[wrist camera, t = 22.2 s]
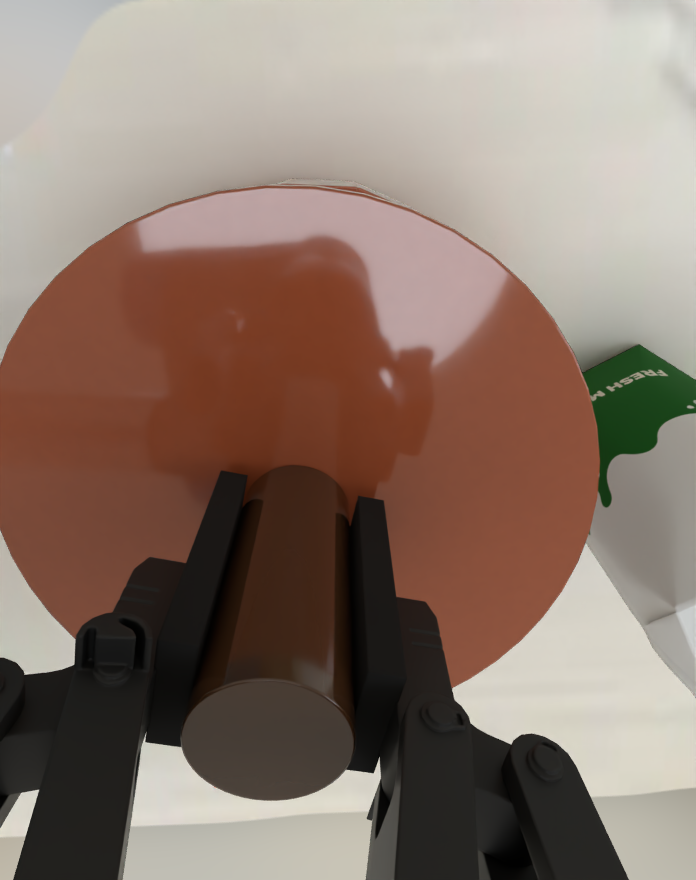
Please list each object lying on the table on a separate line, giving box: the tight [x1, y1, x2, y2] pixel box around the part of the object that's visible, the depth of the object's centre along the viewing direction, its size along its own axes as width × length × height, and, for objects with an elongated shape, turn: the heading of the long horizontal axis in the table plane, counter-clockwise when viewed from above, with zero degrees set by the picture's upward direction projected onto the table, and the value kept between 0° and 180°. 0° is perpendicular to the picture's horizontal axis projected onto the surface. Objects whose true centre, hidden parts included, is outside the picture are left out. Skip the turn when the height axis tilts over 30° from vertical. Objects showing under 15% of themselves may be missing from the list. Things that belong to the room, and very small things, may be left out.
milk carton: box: [582, 344, 696, 698], centre depth 26 cm, size 9×9×20 cm
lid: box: [0, 184, 600, 801], centre depth 15 cm, size 18×18×9 cm
